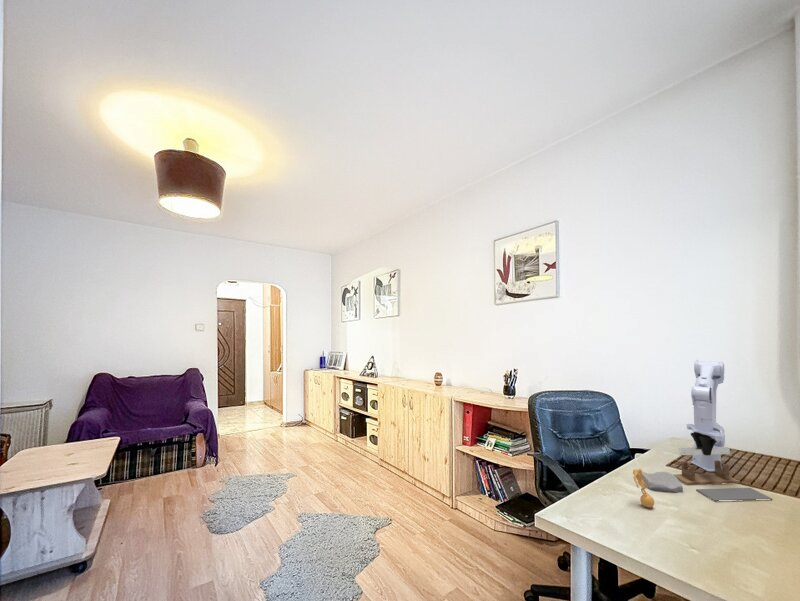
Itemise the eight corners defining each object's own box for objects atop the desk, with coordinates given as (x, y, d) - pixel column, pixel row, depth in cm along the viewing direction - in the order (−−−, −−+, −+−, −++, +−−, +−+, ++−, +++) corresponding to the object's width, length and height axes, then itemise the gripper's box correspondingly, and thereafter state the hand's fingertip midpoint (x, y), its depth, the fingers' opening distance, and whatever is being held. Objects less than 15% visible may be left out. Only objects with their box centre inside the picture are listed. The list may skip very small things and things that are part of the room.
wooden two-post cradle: (686, 485, 144) (686, 467, 144) (672, 477, 151) (672, 460, 151) (739, 483, 144) (738, 466, 145) (723, 475, 151) (722, 459, 152)
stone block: (686, 497, 139) (669, 480, 148) (687, 485, 138) (670, 468, 148) (651, 498, 140) (637, 480, 149) (652, 486, 139) (637, 469, 149)
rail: (683, 455, 147) (683, 449, 147) (679, 453, 149) (679, 448, 149) (729, 453, 147) (729, 448, 147) (725, 451, 149) (725, 446, 149)
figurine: (649, 513, 125) (648, 476, 125) (629, 506, 130) (628, 470, 130) (658, 504, 130) (657, 468, 131) (638, 498, 135) (637, 463, 135)
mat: (696, 490, 139) (696, 489, 139) (750, 489, 140) (750, 487, 140) (714, 502, 131) (714, 500, 131) (772, 500, 132) (772, 498, 132)
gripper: (678, 413, 155) (680, 447, 155) (708, 423, 141) (709, 461, 141) (696, 412, 155) (697, 446, 155) (727, 423, 141) (728, 460, 141)
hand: (704, 453), depth 148 cm, fingers closed on rail, 2 cm apart
